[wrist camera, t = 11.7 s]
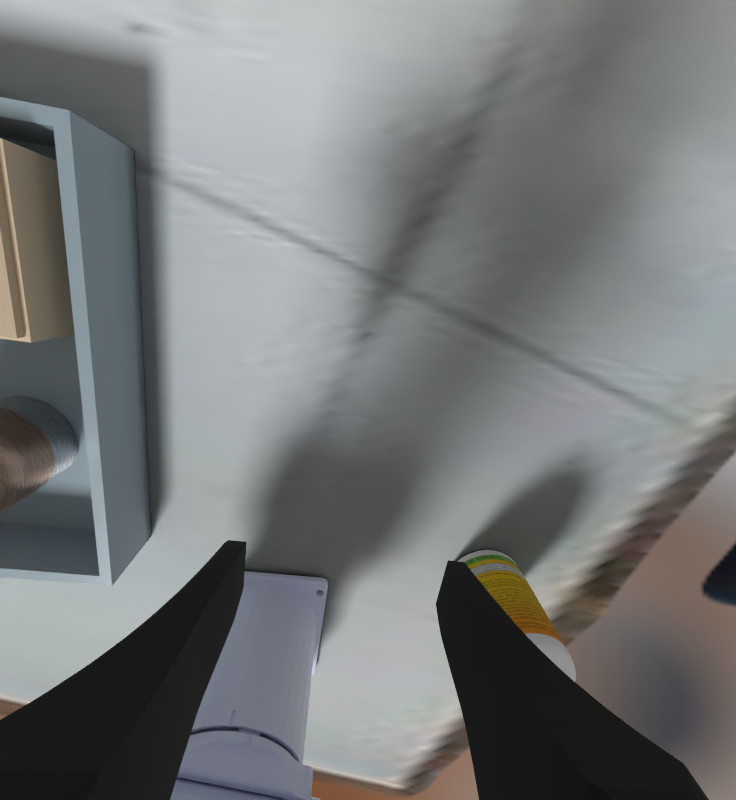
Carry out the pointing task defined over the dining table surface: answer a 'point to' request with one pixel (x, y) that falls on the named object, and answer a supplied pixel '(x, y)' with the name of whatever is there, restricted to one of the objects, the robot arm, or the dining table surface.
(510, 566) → the supplement bottle
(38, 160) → the plain tan box
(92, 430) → the tote
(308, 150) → the dining table surface
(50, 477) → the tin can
